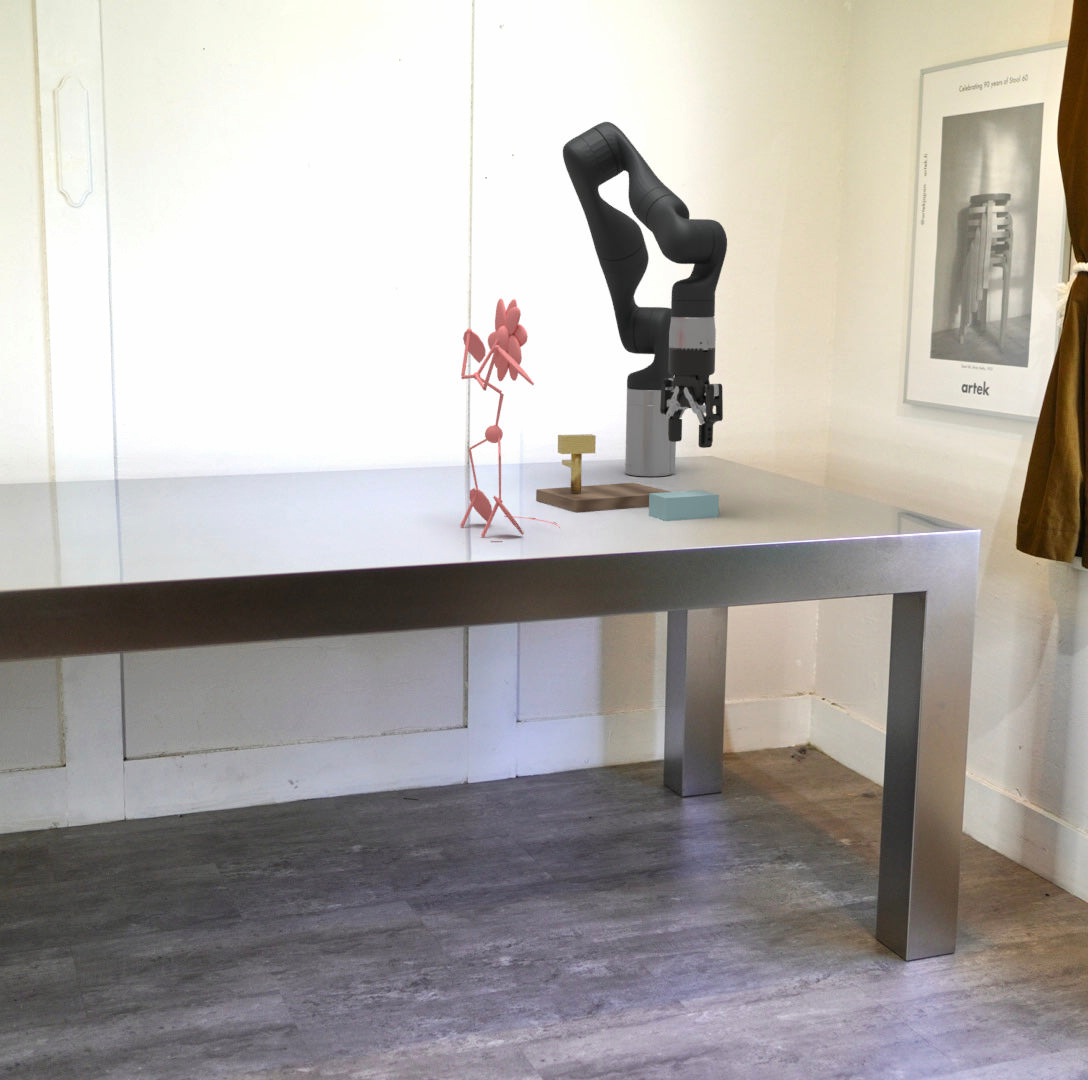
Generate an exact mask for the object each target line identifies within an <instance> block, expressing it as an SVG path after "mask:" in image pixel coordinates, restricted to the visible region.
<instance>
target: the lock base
mask: <svg viewBox="0 0 1088 1080" xmlns="http://www.w3.org/2000/svg"><path fill="white" fill-rule="evenodd" d="M535 490H536V491H535V492H536V493H535V500H536V502H540V503H542V504H543V503H544V504H547V505H550V506H554V507H556V508H559V509H564V510H566V511H570V512H574V513H586V512H595V511H608V510H623V509H631V508H632V509H636V508H646V507H648V508H649V493H664V492H671V491H669V490H665V489H662V488H658V487H652V486H648V485H644V484H641V483H635V482H625V483H624V482H622V483H621V482H619V483H609V484H608V483H607V484H606V483H605V484H596V485H595V484H593V485H583V486H582V485H581V493H571V486H566V487H554V488H553V487H551V488H540V489H539V488H537V489H535Z"/></svg>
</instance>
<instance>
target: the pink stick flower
mask: <svg viewBox="0 0 1088 1080" xmlns="http://www.w3.org/2000/svg"><path fill="white" fill-rule="evenodd" d="M495 308H496V310H495V319H494V330H495V331H492V332H491V333H490V334H489V335H488V337H487V345H488V348H489V352H488V354H487V355H486V347H485V345H484V342H483V340H482V339H481V338H480V336H479V334H477V333H476V332H474V331H473V330H472V328H467V329H466V331H464V333H463V337H462V340H463V345H464V352H463V353H464V354H463V360H462V367H461V380H467V379H468V380H469V379H474V380H476V381H477V383H478V385H480V387H481V388H482V390H483V391H487V388H488V387H489V388H491V389H492V390H493V391H495V393H496V392H497V394H499V399H498V405H497V412H496V419H495V424H493V425H489V426H488V427H487V428H486V429H485V431H484V437H485V438H484V439H483V440H480V442H478V443H476V444H474V445H472V446H471V447H469V448H468V454H469V459H470V464H471V470H472V471H471V472H472V476H473V480H474V485H475V487H473V488H472V489H470V490H469V501H470V503H469V505H468V508H467V510H466V512H465V514H464V516H463V519H462V521H461V523H460V525H459V527H461V528H464V526H465V525H466V522H467V521H468V518H469V515H470V514H471V511H472V509H473V508H474V510H475V512H476V513H478V514H479V515H480V516H481V518H482V519H483V520H484V521H485V522H486V524H485V526H484V528H483V530H482V533H481V534H480V536H481V537H482V538H485V537H486V534H487V532H488V530H489V527H490V526H491V524H492V521H493V519H494V517H495V515H496V512H497V510H498V508H500V510H501V511H502V512H503V514H504V518H507V519H508V520H509V521H510V522H511V524H512V525H513V526H514V527H515V529H517V530H518V531H519V533H520V534H521V535H522V536H523V535H525V532H524V530H522V528H521V526H520V525H519V523H518V522H517V520H516V519H515V518H517V519H527V520H535V521H541V522H544V523H549V524H552V525H554V526H557V527H558V528H559V529H561V527H560V526H559V525H558V524H557V522H555V521H553V522H552V521H548V520H544V519H538V518H535V517H528V516H527V517H521V516H514V515H512V514H511V512H510V511H509V510H508V508H507V507H506V506H505V505H504V502H503V500H502V451H501V449H502V448H501V447H502V446H501V440H502V439H503V432H504V431H503V430H502V429H501V428H500V426H499V420H500V416H501V411H502V405H503V402H504V401H503V400H504V393H502V392H503V391H502V390H501V389H499V388H497V387H496V386H495V385H493V384H491V383H490V378H491V376H492V375H491V374H492V373H493V368H494V367H495V368H496V374H497V375H496V377H497V380H498V382H503V380H504V379H505V377H506V375H507V373H509V376H510V379H512V381H513V382H514V381H517V379H518V375H520V376H521V377H522V378H523V379H524V380H526V381H527V382H528V383H529V384H530V385H531V386H534V385H535V383H534V381H533V380H532V379H531V378H530V376H529V375H528V373H527V372H526V371H525V370H524V369H523V368H522V367H521V363H522V358H523V357H522V349H521V347H523V346H524V345H526V343H527V342H528V338H529V337H528V332H527V330H526V328H525V327H524V326H523V325H522V324H520V319H521V315H522V314H521V308H519V307H518V303H517V300H516V299H515V298H514V299H513V298H512V300H510V301H509V303H508V306H507V308H506V307H505V303H504V300H503V298H499V299H498V301H497V303H496V307H495ZM468 354H469V355H471V357H473V359H474V360H475V361H476V362H477V363H478V364H480V363H481V362H482V364H481V366H480V367H479V369H478V370H477V371H476V372H474V373H473V374H467V375H466V368H467V362H468ZM485 356H486V357H485ZM490 358H491V360H490ZM489 360H490V364H489V367H488V371H487V374H486V377H485V379H484V378H482V377H481V373H482V372H483V370H484V368H485V367H486V365H487V363H488V361H489ZM508 371H509V372H508ZM485 442H490V443H491V444H497V447H498V449H497V450H498V454H497V455H498V497H497V496H496V495H493V496H492V498H493V499H494V501H495V504H494V507H492V504H491V502H490V499H488V497H487V495H485V493H484V492H483V491H482V490H480V489H479V487H478V481H477V480H478V479H477V475H476V471H475V465H474V464H475V463H474V459H473V453H472V450H473V449H474V448H476V447H478V446H480V445H481V444H484V443H485ZM490 543H503V540H495V541H493V540H491V541H490Z"/></svg>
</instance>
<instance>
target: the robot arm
mask: <svg viewBox="0 0 1088 1080" xmlns="http://www.w3.org/2000/svg"><path fill="white" fill-rule="evenodd" d="M562 158H563V162H564V165H565V169H566V171H567V173H568V177H569V178H570V181H571V184H572V186H573V189H574V191H575V193H576V195H577V197H578V200H579V202H580V203H579V204H580V205H581V209H582V210H583V213H584V216H585V218H586V222H587V226H588V228H589V232H590V235H591V239H592V242H593V246H594V249H595V252H596V256H597V259H598V262H599V265H600V268H601V270H602V274H603V275H604V280H605V281H606V284H607V285H606V286H607V288H608V292H609V295H610V299H611V302H612V306H613V307H612V308H613V311H614V316H615V322H616V325H617V331H618V334H619V335H618V336H619V338H620V341H621V344H622V347H623V348H624V350H625V351H627V352H628V353H630V354H631V353H632V354H636V355H653V360H652V362H651V363H650V364H649V365H648V366H646V367H644V368H642V369H640V370H636V371H632V372H631V373H629V374H628V375H627V377H626V414H625V415H626V417H625V418H626V420H625V421H626V424H625V462H624V464H625V466H624V467H625V468H624V469H625V472H624V473H625V474H626V475H630V476H637V477H638V476H639V477H665V476H669V475H675V474H676V448H677V442H681V441H682V437H683V419H682V418H683V417H682V416H683V415H684V413H685V412H686V410H688V409H691V411H692V412H693V414H695V415H696V417H697V419H698V421H699V424H698V447H699V448H702V449H704V448H705V449H706V448H711V447H712V446H713V440H714V438H713V437H714V424H716V423H717V422H722V421H723V420H724V419H723V417H724V415H723V413H724V411H723V410H724V409H723V407H724V406H723V404H724V402H723V394H724V393H723V384H722V383H711V382H710V376H711V375H714V374H715V371H716V340H717V339H716V337H717V336H716V335H717V333H716V321H715V312H716V311H715V310H716V290H717V286H718V284H719V279H720V275H721V272H722V270H723V269H722V268H723V265H724V262H725V257H726V255H727V250H728V249H727V248H728V237H727V234H726V231H725V228H724V227H723V225H722V224H721V223H720V222H719V221H717V220H716V219H709V218H708V219H701V218H700V219H699V218H698V219H697V218H693V219H692V218H690V211H689V208H688V206H687V204H686V203H685V202H684V201H683V200H682V199H681V198H680V197H679V196H677V194H676V193H674V192H673V191H672V189H670V188H669V187H668V186H666V185H665V184H664V182H663V181H661V180H660V178H658V175H656V173H655V172H654V171H653V169H652V168H651V167H650V166H649V164H648V163H647V162H646V160H645V159H644V157H643V156H642V155H641V153H640V152H639V150H637V148H636V147H635V146H634V144H633V143H632V142H631V141H630V139H629V138H628V136H626V134H625V133H624V132H623V131H622V130H621V128H619V126H617V125H616V124H614V123H612V122H610V121H603V122H600V123H598V124H596V125H594V126H592V127H590V128H589V129H587V130H586V131H584V132H582V133H581V134H578V135H577V136H574V137H573V138H572V139H570V140H569V141H567V142H566V143H565V144H564V145H563V147H562ZM624 171H625V172H627V173H628V202H629V206H630V209H631V211H632V213H633V215H634V217H636V219H638V221H640V222H641V224H642V225H643V226H645V227H646V228H647V229H648V230H649V231H650V232H651V233H652V234H653V237H654V239H655V241H656V243H657V245H658V247H659V250H660V251H661V253H662V255H663V256H664V257H665V258H666V259H668V260H669V261H671V262H673V263H675V264H678V265H694V266H693V267H692V270H691V273H690V276H688V277H686V278H684V279H680V280H677V281H675V282H674V283H673V285H672V287H671V297H670V298H671V301H670V302H671V307H662V306H656V307H655V306H639V305H637V302H636V301H635V294H636V291H637V289H638V288H639V287H638V286H639V285H640V283H641V281H642V280H643V277H644V275H645V273H646V271H647V268H648V265H649V260H650V259H649V251H648V247H647V245H646V241H645V238H644V234H643V232H642V229H641V227H640V225H639V224H638V223H637V221H636V220H634V219H633V218H632V217H630V216H629V215H627V214H626V213H624V212H623V211H621V210H619V209H617V208H615V207H614V206H613V205H611V204H609V202H606V201H605V199H604V198H602V196H601V194H600V191H599V187H600V186H602V184H603V185H604V183H607V182H608V181H610V180H612V179H613V178H615V177H616V176H618V175H621V173H623V172H624ZM714 407H715V412H714Z"/></svg>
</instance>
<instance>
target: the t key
mask: <svg viewBox="0 0 1088 1080" xmlns="http://www.w3.org/2000/svg"><path fill="white" fill-rule="evenodd" d="M596 438H597V437H596V435H594V434H590V433H589V434H587V433H586V434H558V435H557V453H558V454H560V455H570V458H571V459H561V465H562V466H565V467H566V468H567V467H568V468H570V487H571V493H581V486H582V470H583V468H582V466H583V465H582V464H583V463H582V461H583V459H582V457H583V456H582V455H584V454H596Z"/></svg>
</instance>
